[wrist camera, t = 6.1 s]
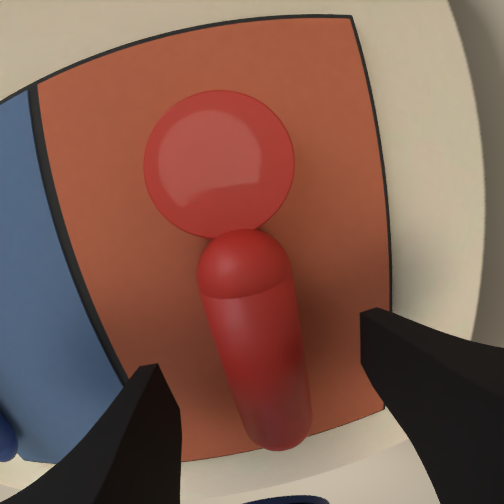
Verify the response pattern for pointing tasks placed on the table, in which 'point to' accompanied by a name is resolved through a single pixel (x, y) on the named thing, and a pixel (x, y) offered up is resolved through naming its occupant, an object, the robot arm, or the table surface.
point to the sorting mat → (177, 241)
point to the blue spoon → (7, 441)
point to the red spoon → (238, 249)
